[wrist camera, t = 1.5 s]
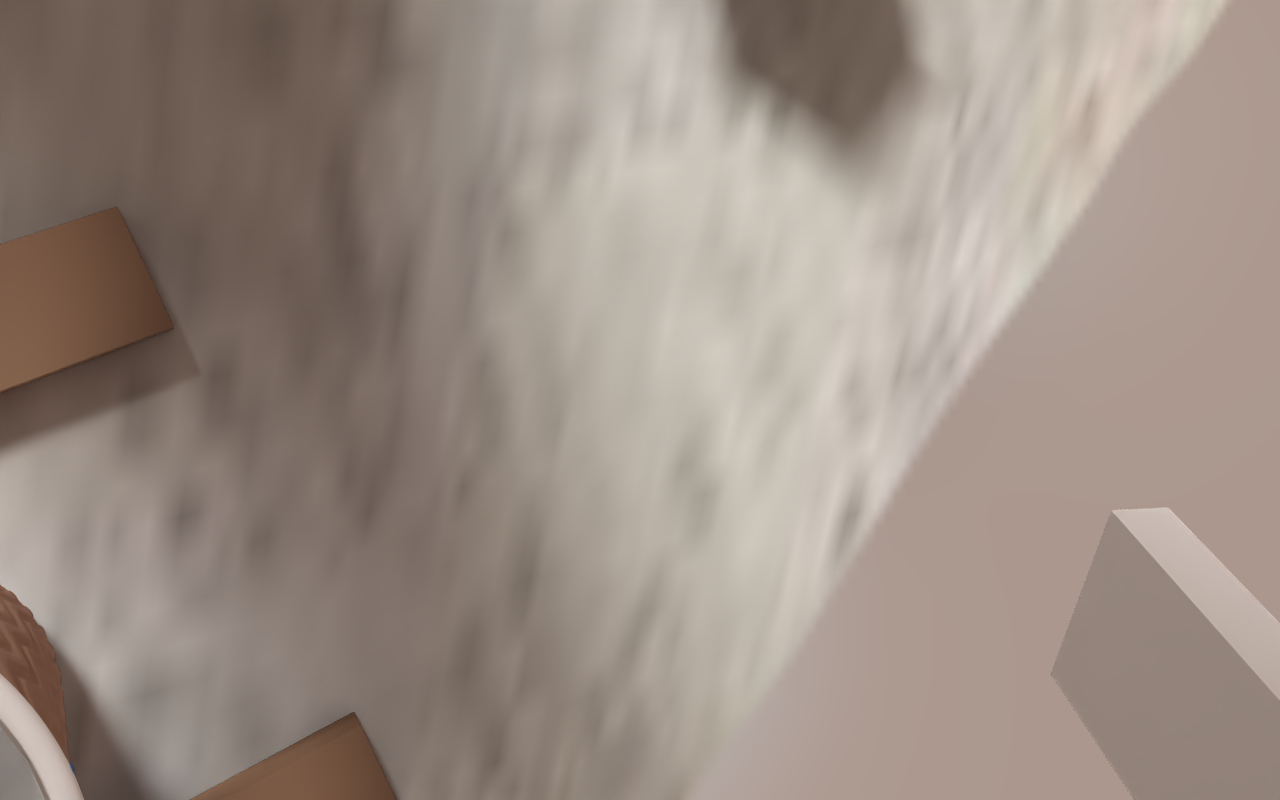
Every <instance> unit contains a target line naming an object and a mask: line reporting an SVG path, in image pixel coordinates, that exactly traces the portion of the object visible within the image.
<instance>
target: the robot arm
mask: <svg viewBox="0 0 1280 800" xmlns="http://www.w3.org/2000/svg"><path fill="white" fill-rule="evenodd" d="M1051 675H1052V677H1053V678H1054V680H1055V681H1056V683H1057V684H1058V686H1059V687H1060V689H1061V690H1062V692H1063V693H1064V695H1065V696H1066V698H1067V699H1068V701H1069V702H1070V704H1071V705H1072V707H1073V708H1074V710H1075V711H1076V713H1077V714H1078V716H1079V717H1080V719H1081V720H1082V722H1083V723H1084V725H1085V727H1086V728H1087V730H1088V731H1089V733H1090V734H1091V736H1092V737H1093V738H1094V740H1095V741H1096V743H1097V745H1098V746H1099V747H1100V749H1101V751H1102V752H1103V754H1104V755H1105V757H1106V758H1107V760H1108V761H1109V763H1110V764H1111V766H1112V767H1113V769H1114V770H1115V772H1116V773H1117V775H1118V776H1119V778H1120V779H1121V781H1122V782H1123V784H1124V785H1125V787H1126V788H1127V790H1128V791H1129V793H1130V794H1131V796H1132V797H1133V799H1134V800H1280V623H1279V622H1278V621H1277V620H1276V619H1275V618H1274V617H1273V616H1272V615H1271V614H1270V613H1269V612H1268V611H1267V610H1266V609H1265V608H1264V606H1263V605H1262V604H1261V603H1260V602H1258V600H1257V599H1256V598H1255V597H1254V596H1253V595H1252V594H1251V593H1250V592H1249V591H1248V590H1247V589H1246V588H1245V587H1244V586H1243V585H1242V584H1241V583H1240V582H1239V581H1238V580H1237V578H1235V576H1234V575H1233V574H1232V573H1231V572H1230V571H1229V570H1228V569H1227V568H1226V567H1225V566H1224V565H1223V564H1222V563H1221V562H1220V561H1219V560H1218V559H1217V558H1216V557H1215V556H1214V555H1213V554H1212V553H1211V551H1210V550H1209V549H1208V548H1207V547H1206V546H1205V545H1204V544H1203V543H1202V542H1201V541H1200V540H1199V539H1198V538H1197V537H1196V536H1195V535H1194V534H1193V533H1192V532H1191V531H1190V530H1189V529H1188V528H1187V527H1186V526H1185V524H1183V522H1182V521H1180V519H1179V518H1178V517H1177V516H1176V515H1175V514H1174V513H1173V512H1172V511H1171V510H1170V509H1169V508H1148V509H1128V510H1111V513H1110V515H1109V518H1108V521H1107V524H1106V526H1105V529H1104V532H1103V535H1102V537H1101V540H1100V542H1099V545H1098V548H1097V551H1096V553H1095V556H1094V559H1093V562H1092V564H1091V567H1090V569H1089V572H1088V575H1087V577H1086V580H1085V583H1084V586H1083V588H1082V591H1081V594H1080V596H1079V599H1078V602H1077V604H1076V607H1075V610H1074V613H1073V615H1072V618H1071V621H1070V623H1069V626H1068V629H1067V631H1066V634H1065V637H1064V639H1063V642H1062V645H1061V647H1060V650H1059V653H1058V655H1057V659H1056V661H1055V664H1054V666H1053V669H1052V672H1051Z"/></svg>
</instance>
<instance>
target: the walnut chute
mask: <svg viewBox="0 0 1280 800" xmlns="http://www.w3.org/2000/svg"><path fill="white" fill-rule="evenodd" d="M171 329H174V326H173V324H172V322H171V319H170V317H169V315H168V313H167V311H166V309H165V307H164V304H163V302H162V300H161V298H160V296H159V294H158V292H157V290H156V287H155V285H154V283H153V281H152V279H151V277H150V275H149V273H148V270H147V268H146V266H145V264H144V262H143V260H142V258H141V256H140V253H139V251H138V249H137V247H136V245H135V243H134V241H133V238H132V236H131V234H130V232H129V230H128V228H127V226H126V224H125V221H124V219H123V217H122V215H121V213H120V211H119V209H118V207H114V208H111V209H108V210H105V211H102V212H99V213H95V214H92V215H89V216H86V217H83V218H80V219H77V220H74V221H71V222H68V223H65V224H62V225H59V226H56V227H52V228H49V229H46V230H43V231H40V232H37V233H34V234H31V235H28V236H25V237H22V238H19V239H16V240H12V241H9V242H6V243H3V244H0V393H2V392H5V391H8V390H10V389H13V388H16V387H18V386H21V385H24V384H26V383H29V382H32V381H34V380H37V379H40V378H42V377H45V376H48V375H50V374H53V373H56V372H58V371H61V370H64V369H67V368H69V367H72V366H75V365H77V364H80V363H83V362H85V361H88V360H91V359H93V358H96V357H99V356H101V355H104V354H107V353H109V352H112V351H115V350H117V349H120V348H123V347H126V346H128V345H131V344H134V343H136V342H139V341H142V340H144V339H147V338H150V337H152V336H155V335H158V334H160V333H163V332H166V331H168V330H171ZM190 800H396V799H395V797H394V794H393V792H392V790H391V788H390V786H389V784H388V782H387V780H386V777H385V775H384V773H383V771H382V769H381V767H380V765H379V762H378V760H377V758H376V756H375V754H374V752H373V750H372V748H371V745H370V743H369V741H368V739H367V737H366V735H365V733H364V731H363V728H362V726H361V724H360V722H359V720H358V718H357V716H356V714H355V712H353V713H351V714H349V715H347V716H345V717H344V718H342V719H340V720H338V721H336V722H334V723H332V724H330V725H329V726H327V727H325V728H323V729H321V730H319V731H317V732H316V733H314V734H312V735H310V736H308V737H306V738H304V739H302V740H301V741H299V742H297V743H295V744H293V745H291V746H289V747H288V748H286V749H284V750H282V751H280V752H278V753H276V754H274V755H273V756H271V757H269V758H267V759H265V760H263V761H261V762H260V763H258V764H256V765H254V766H252V767H250V768H248V769H246V770H245V771H243V772H241V773H239V774H237V775H235V776H233V777H232V778H230V779H228V780H226V781H224V782H222V783H220V784H218V785H217V786H215V787H213V788H211V789H209V790H207V791H205V792H204V793H202V794H200V795H198V796H196V797H194V798H192V799H190Z"/></svg>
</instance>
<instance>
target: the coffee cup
mask: <svg viewBox="0 0 1280 800" xmlns="http://www.w3.org/2000/svg"><path fill="white" fill-rule="evenodd" d="M55 660H56V655H55V652H54V649H53V647H52V646H51V645H50V644H49V643H48V641H47V636H46V633H45V631H44V629H43V627H41V626H39V625H38V624H37V623H36V621H35V620H34V617H33V614H32V612H31V611H30V609H28V608H27V607H25V606H23V605H22V603H21V602H20V601H19V600H18V599H17V597H16V596H15V594H14V593H13V592H11V591H8V590H6V589H5V588H4V587H2V586H1V585H0V800H84V798H83V795H82V793H81V790H80V787H79V784H78V782H77V780H76V778H75V775H74V768H73V766H72V764H71V762H70V761H69V752H68V741H67V732H66V719H65V709H64V697H63V691H62V689H61V687H60V686H61V681H62V680H61V673H60V669H59V668H58V667H57V666H56V665H55V663H54V662H55Z"/></svg>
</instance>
